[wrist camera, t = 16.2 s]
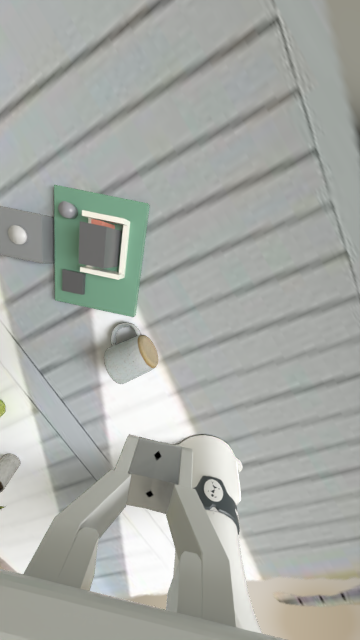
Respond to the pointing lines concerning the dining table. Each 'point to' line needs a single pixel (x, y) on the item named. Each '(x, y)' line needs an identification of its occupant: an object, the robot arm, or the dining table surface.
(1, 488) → the house plant
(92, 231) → the plug
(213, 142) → the dining table surface
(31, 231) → the gray push button box
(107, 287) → the board
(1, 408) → the plant pot
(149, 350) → the ceramic mug
